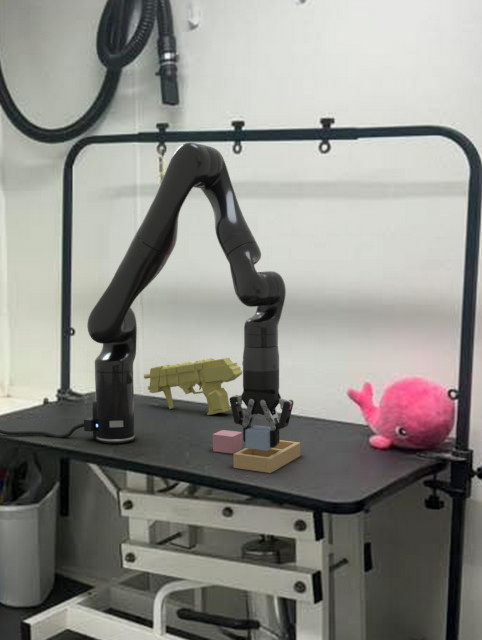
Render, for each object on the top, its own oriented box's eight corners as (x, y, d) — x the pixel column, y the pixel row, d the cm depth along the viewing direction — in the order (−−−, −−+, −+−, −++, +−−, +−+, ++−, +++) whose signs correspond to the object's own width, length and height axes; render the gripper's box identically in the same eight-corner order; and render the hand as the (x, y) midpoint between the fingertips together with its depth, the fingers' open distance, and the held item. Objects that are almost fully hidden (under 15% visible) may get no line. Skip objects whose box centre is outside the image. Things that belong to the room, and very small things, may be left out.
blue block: (245, 448, 200) (245, 429, 199) (255, 443, 204) (255, 425, 203) (267, 450, 197) (267, 432, 196) (276, 445, 201) (276, 427, 200)
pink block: (212, 451, 214) (212, 434, 214) (222, 446, 218) (222, 429, 218) (232, 453, 212) (232, 436, 211) (242, 449, 216) (242, 432, 215)
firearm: (158, 419, 268) (148, 367, 268) (249, 407, 249) (238, 352, 248) (149, 422, 265) (139, 370, 264) (241, 410, 246) (230, 354, 245)
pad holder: (233, 467, 200) (233, 453, 200) (264, 451, 213) (264, 438, 212) (270, 473, 195) (270, 458, 195) (300, 456, 208) (300, 442, 207)
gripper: (300, 366, 196) (299, 445, 199) (237, 362, 205) (237, 438, 207) (286, 371, 190) (285, 453, 193) (222, 367, 199) (222, 445, 201)
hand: (261, 445), depth 200 cm, fingers closed on blue block, 5 cm apart
